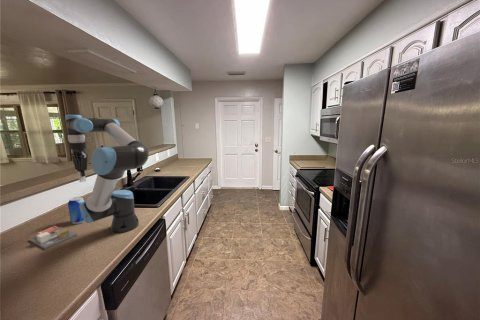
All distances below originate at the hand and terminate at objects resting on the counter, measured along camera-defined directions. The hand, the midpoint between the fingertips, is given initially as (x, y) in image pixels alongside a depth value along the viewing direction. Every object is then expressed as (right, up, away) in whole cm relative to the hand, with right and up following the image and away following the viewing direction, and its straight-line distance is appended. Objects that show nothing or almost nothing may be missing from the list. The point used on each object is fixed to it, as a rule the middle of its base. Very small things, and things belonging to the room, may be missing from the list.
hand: (82, 181), depth 118 cm
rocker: (-15, -28, -6) cm, 32 cm away
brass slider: (-5, -30, -8) cm, 32 cm away
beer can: (-12, -28, +12) cm, 32 cm away
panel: (-11, -31, -7) cm, 34 cm away
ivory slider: (-12, -31, -11) cm, 35 cm away
